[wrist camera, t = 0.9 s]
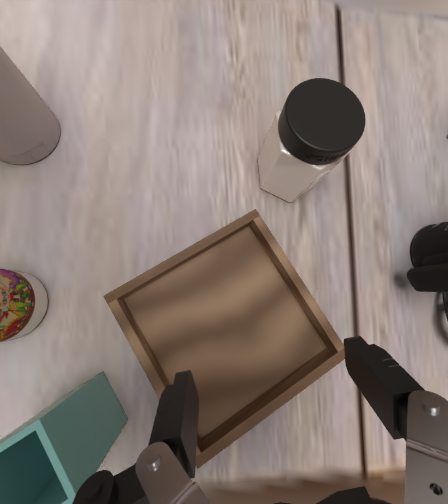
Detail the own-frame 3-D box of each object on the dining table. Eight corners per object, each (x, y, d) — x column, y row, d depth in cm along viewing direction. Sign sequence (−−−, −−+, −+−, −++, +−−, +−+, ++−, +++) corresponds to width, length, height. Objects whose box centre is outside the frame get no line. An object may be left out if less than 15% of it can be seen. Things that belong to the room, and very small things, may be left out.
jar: (277, 212, 35) (316, 169, 23) (244, 166, 36) (265, 101, 24) (326, 180, 37) (386, 125, 25) (293, 136, 38) (335, 62, 26)
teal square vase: (53, 402, 29) (-49, 474, 17) (103, 371, 30) (39, 419, 18) (78, 452, 28) (-11, 563, 16) (128, 419, 29) (78, 500, 17)
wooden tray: (114, 296, 31) (103, 296, 28) (250, 217, 35) (255, 208, 31) (197, 448, 29) (197, 468, 26) (334, 348, 33) (350, 354, 29)
